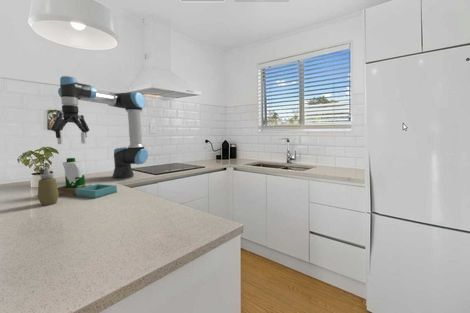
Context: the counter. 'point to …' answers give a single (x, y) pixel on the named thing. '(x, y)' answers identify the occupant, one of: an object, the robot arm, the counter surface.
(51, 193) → the squeeze bottle
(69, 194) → the dock
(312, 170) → the counter surface
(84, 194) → the tray
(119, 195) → the counter surface
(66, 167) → the soya milk
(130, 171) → the robot arm
